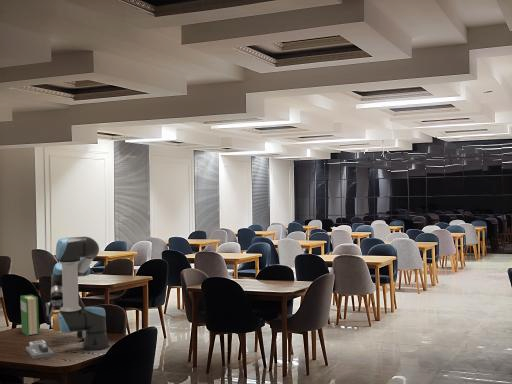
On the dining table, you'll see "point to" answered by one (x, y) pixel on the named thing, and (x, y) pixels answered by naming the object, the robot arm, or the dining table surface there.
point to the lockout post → (55, 320)
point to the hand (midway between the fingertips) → (56, 326)
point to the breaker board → (39, 350)
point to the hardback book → (29, 315)
